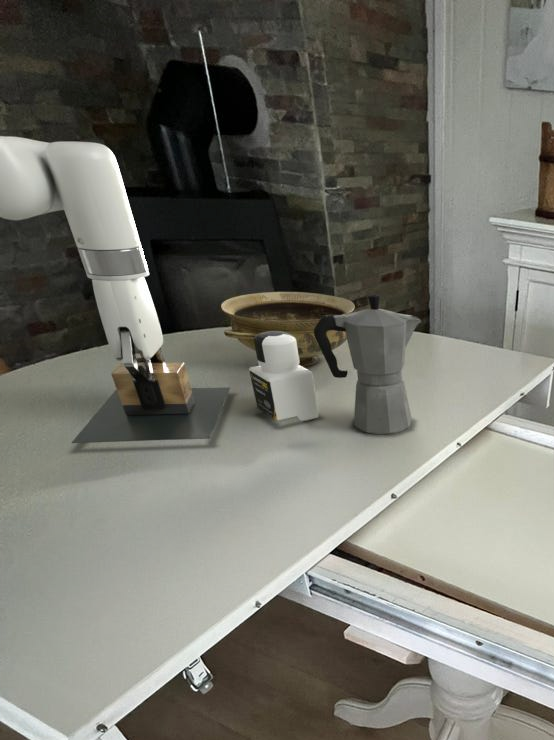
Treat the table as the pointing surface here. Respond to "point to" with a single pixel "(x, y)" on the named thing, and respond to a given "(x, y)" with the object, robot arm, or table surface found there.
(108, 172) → the robot arm
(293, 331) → the ceramic bowl
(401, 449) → the table surface
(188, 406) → the eraser
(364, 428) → the coffeepot
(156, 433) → the slate board
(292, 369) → the medicine bottle
